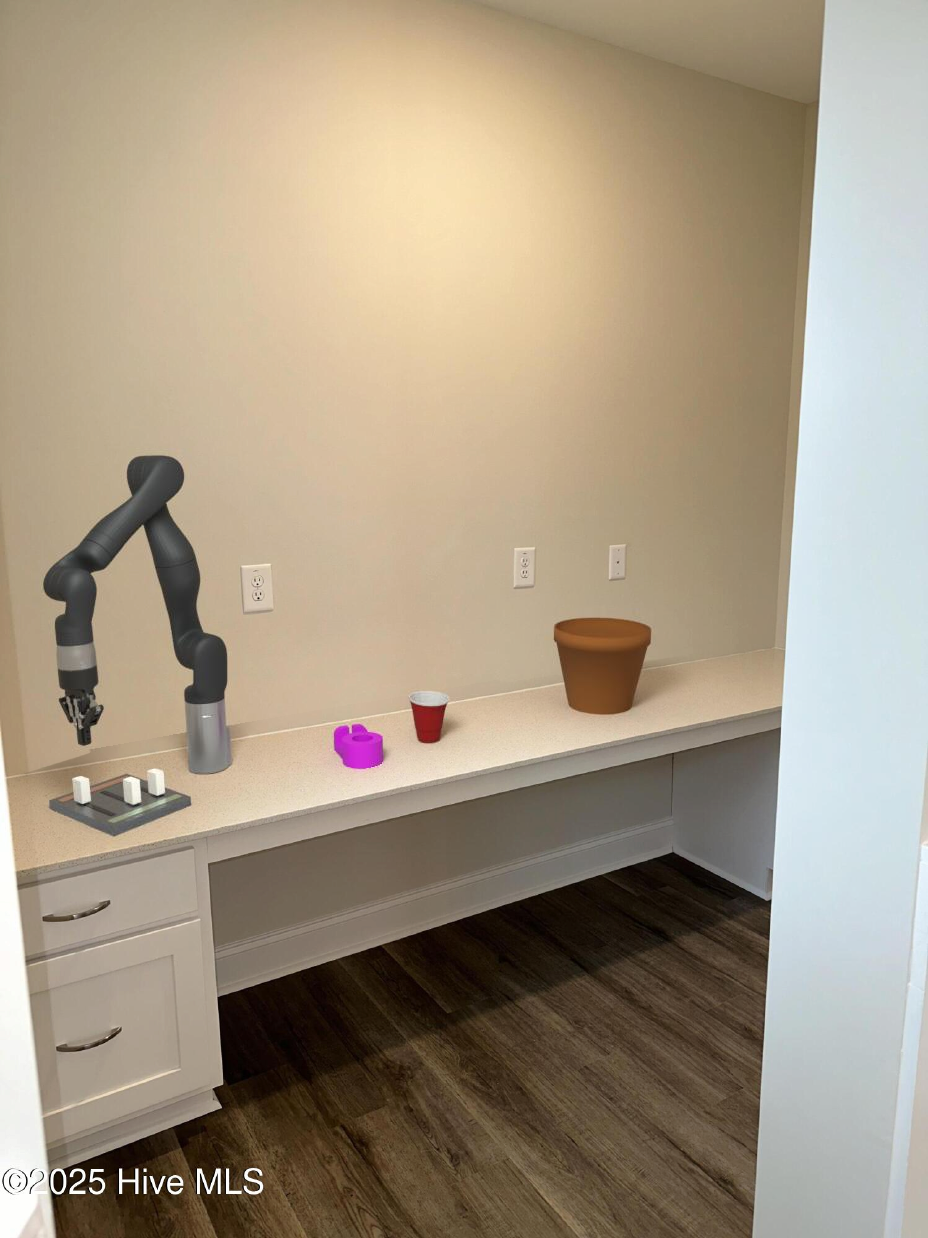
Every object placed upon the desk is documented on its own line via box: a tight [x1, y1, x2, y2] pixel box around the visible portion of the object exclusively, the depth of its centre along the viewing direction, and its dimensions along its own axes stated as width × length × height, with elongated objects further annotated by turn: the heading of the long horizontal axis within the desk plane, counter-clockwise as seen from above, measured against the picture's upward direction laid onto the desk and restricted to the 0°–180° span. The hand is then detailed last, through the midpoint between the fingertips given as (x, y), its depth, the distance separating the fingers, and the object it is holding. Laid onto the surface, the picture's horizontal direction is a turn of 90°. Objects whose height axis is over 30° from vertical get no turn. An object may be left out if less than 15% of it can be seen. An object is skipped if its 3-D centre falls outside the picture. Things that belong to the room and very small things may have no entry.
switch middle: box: [123, 777, 141, 805], centre depth 195 cm, size 2×3×5 cm, turn 54°
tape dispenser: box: [333, 723, 384, 770], centre depth 228 cm, size 16×10×6 cm, turn 24°
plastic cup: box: [408, 690, 451, 744], centre depth 240 cm, size 11×11×12 cm
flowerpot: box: [553, 617, 652, 716], centre depth 269 cm, size 28×28×24 cm
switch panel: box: [48, 773, 192, 837], centre depth 198 cm, size 19×23×2 cm
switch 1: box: [71, 775, 91, 804], centre depth 195 cm, size 2×3×5 cm, turn 55°
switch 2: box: [146, 768, 166, 796], centre depth 200 cm, size 2×3×5 cm, turn 54°
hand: (84, 744), depth 192 cm, fingers closed
